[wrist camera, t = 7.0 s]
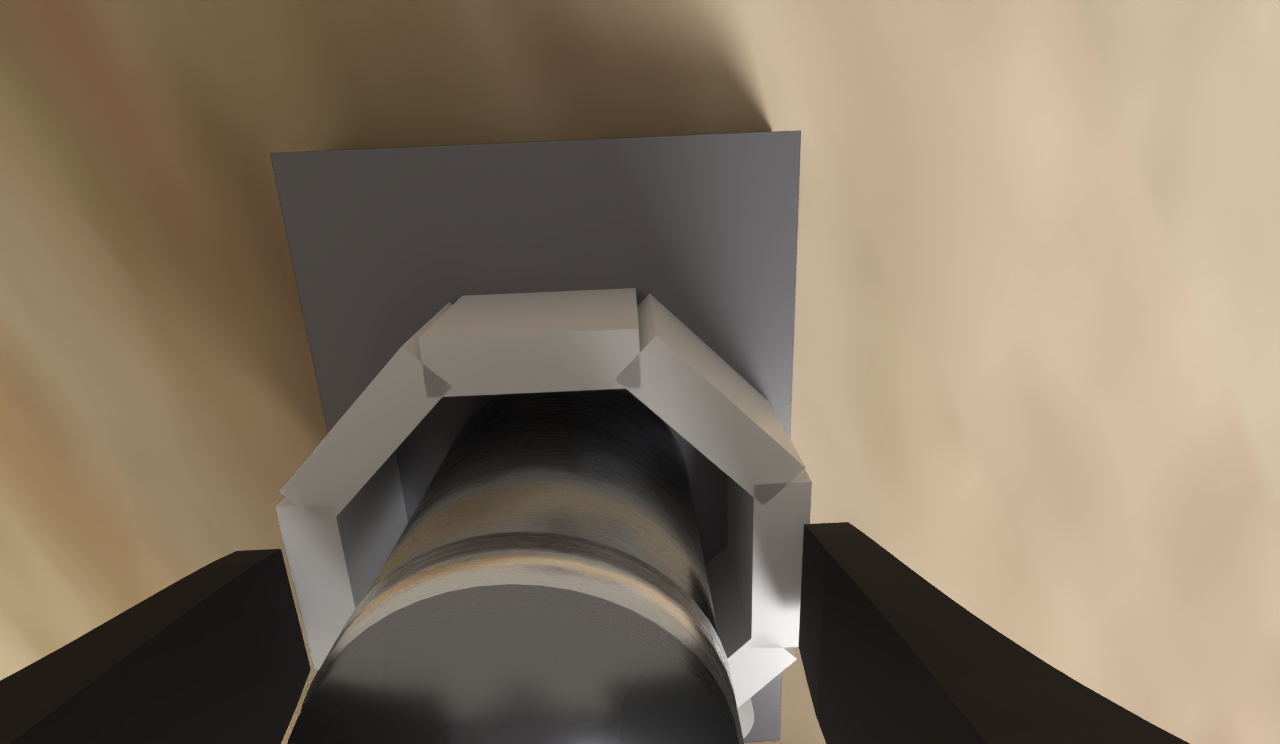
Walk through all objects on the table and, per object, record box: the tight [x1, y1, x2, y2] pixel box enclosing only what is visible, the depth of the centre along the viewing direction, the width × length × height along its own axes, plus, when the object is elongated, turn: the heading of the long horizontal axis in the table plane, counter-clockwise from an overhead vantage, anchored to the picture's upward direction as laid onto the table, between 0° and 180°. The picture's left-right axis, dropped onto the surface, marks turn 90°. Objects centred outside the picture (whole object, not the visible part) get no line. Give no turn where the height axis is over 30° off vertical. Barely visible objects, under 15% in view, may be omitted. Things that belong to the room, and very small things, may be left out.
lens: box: [288, 389, 744, 744], centre depth 9 cm, size 4×4×6 cm
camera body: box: [270, 131, 812, 742], centre depth 12 cm, size 12×8×4 cm, turn 2°
